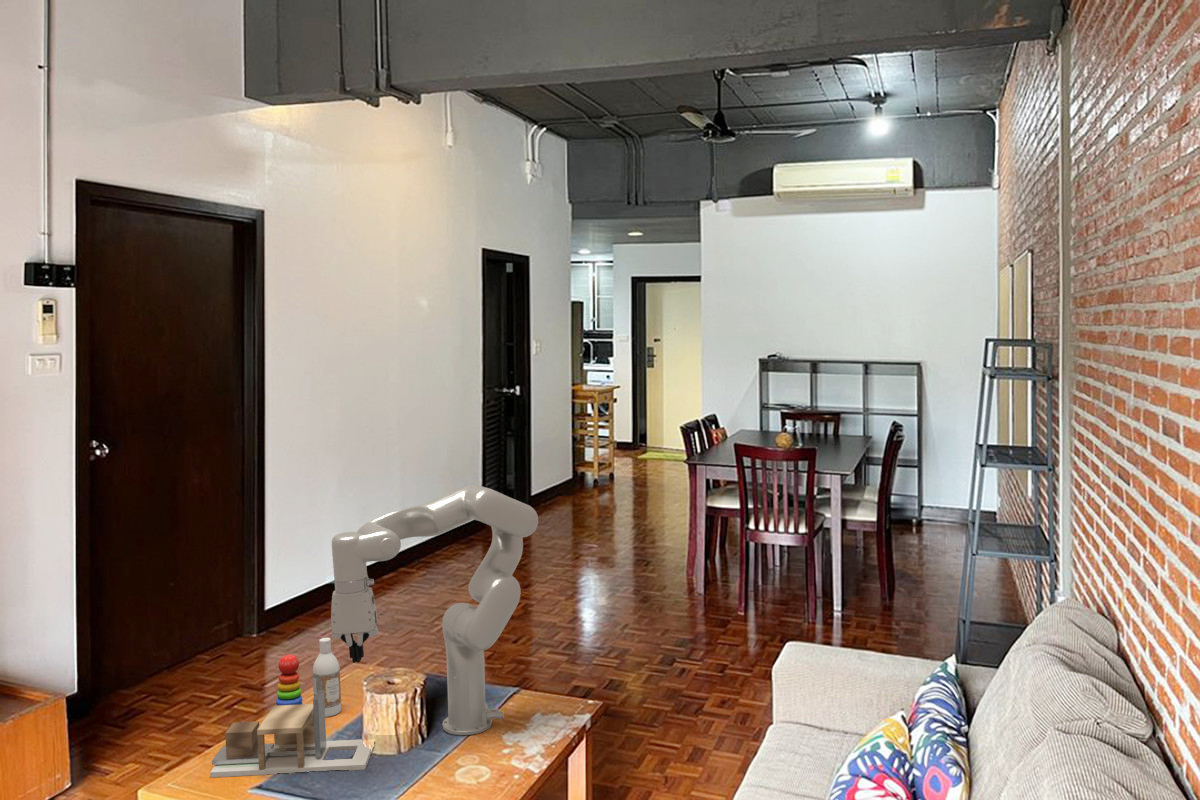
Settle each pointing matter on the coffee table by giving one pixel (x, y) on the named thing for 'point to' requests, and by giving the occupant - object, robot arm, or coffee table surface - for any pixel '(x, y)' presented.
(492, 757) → the coffee table surface
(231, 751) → the walnut block
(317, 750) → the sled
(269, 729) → the tunnel
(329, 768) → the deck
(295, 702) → the stacking toy
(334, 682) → the bath foam
